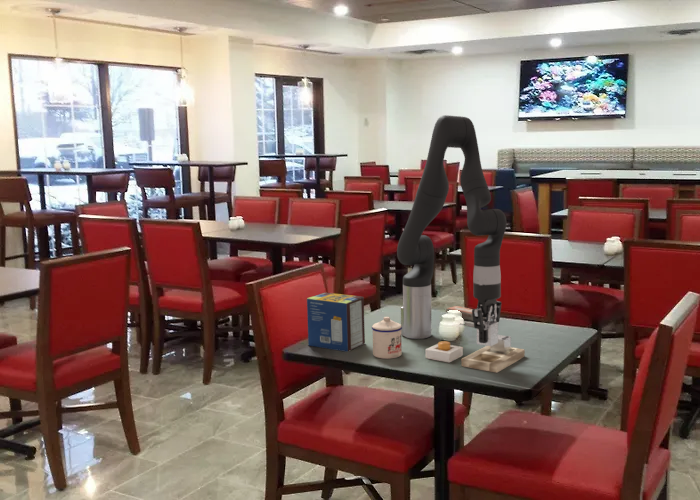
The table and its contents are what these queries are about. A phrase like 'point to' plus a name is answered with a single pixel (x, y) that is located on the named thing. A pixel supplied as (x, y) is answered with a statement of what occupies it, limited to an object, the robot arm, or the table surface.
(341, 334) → the protein box
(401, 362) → the table surface
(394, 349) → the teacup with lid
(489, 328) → the steel billet
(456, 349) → the box
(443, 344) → the button
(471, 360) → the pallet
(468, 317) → the packaged product
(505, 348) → the block
